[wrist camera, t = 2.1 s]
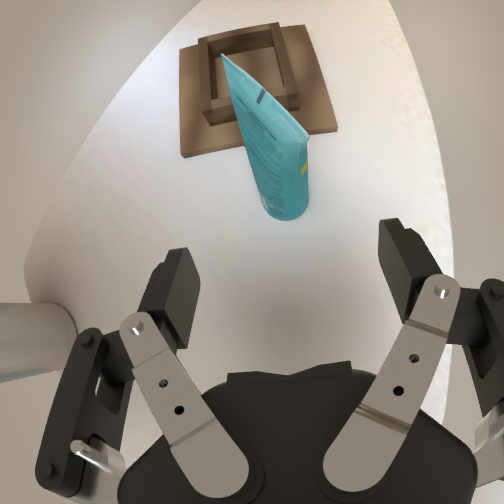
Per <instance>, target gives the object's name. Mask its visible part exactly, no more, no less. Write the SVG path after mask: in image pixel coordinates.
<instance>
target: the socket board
mask: <svg viewBox="0 0 504 504" xmlns="http://www.w3.org/2000/svg"><path fill="white" fill-rule="evenodd" d="M221 54H224V55H225V56H226V57H227V58H228V59H229V60H230V61H232V62H233V63H234V64H236V65H237V66H239V67H240V68H241V69H242V70H244V71H245V72H247V73H248V74H249V75H250V76H251V77H252V78H253V79H255V80H256V81H257V82H258V83H259V84H260V85H261V86H262V87H263V88H264V89H265V90H266V91H267V92H269V93H270V94H271V95H272V96H273V97H274V98H275V99H276V100H277V101H278V102H279V103H280V104H281V105H282V106H283V107H284V108H285V109H286V110H287V111H288V112H289V113H290V114H291V115H292V116H293V117H294V118H295V120H296V121H297V122H298V123H299V124H300V125H301V126H302V128H303V129H304V130H305V131H306V132H307V133H308V134H309V135H313V134H321V133H329V132H337V128H338V126H337V122H336V119H335V115H334V112H333V108H332V105H331V101H330V98H329V95H328V91H327V88H326V85H325V82H324V78H323V75H322V72H321V69H320V66H319V63H318V60H317V57H316V54H315V52H314V49H313V46H312V43H311V40H310V38H309V35H308V32H307V30H306V27H305V24H304V25H295V26H287V27H280V26H279V22H276V23H270V24H263V25H258V26H252V27H247V28H242V29H237V30H232V31H227V32H223V33H219V34H214V35H210V36H206V37H203V38H199V39H198V44H197V45H193V46H190V47H186V48H183V49H180V55H179V108H180V147H181V155H182V156H183V157H184V158H188V157H192V156H196V155H201V154H205V153H210V152H215V151H219V150H224V149H229V148H234V147H239V146H245V145H244V141H243V138H242V135H241V131H240V128H239V124H238V121H237V117H236V114H235V110H234V106H233V103H232V99H231V95H230V91H229V87H228V82H227V78H226V73H225V69H224V64H223V59H222V56H221Z"/></svg>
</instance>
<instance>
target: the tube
mask: <svg viewBox="0 0 504 504" xmlns="http://www.w3.org/2000/svg"><path fill="white" fill-rule="evenodd" d="M221 56H222V59H223V64H224V69H225V73H226V78H227V82H228V87H229V91H230V95H231V99H232V103H233V106H234V110H235V114H236V117H237V121H238V124H239V128H240V131H241V135H242V138H243V141H244V145H245V148H246V151H247V154H248V158H249V161H250V164H251V168H252V171H253V174H254V177H255V181H256V184H257V187H258V190H259V193H260V196H261V199H262V202H263V205H264V208H265V209H266V211H267V212H268V213H269V214H270V215H271V216H272V217H274V218H276V219H278V220H283V221H288V220H293V219H295V218H297V217H299V216H300V215H301V214H302V213H303V212H304V211H305V209H306V208H307V205H308V200H309V194H308V162H307V141H308V139H309V134H308V133H307V132H306V131H305V130H304V129H303V128H302V126H301V125H300V124H299V123H298V122H297V121H296V120H295V118H294V117H293V116H292V115H291V114H290V113H289V112H288V111H287V110H286V109H285V108H284V107H283V106H282V105H281V104H280V103H279V102H278V101H277V100H276V99H275V98H274V97H273V96H272V95H271V94H270V93H269V92H267V91H266V90H265V89H264V88H263V87H262V86H261V85H260V84H259V83H258V82H257V81H256V80H255V79H253V78H252V77H251V76H250V75H249V74H248V73H247V72H245V71H244V70H242V69H241V68H240V67H239V66H237V65H236V64H234V63H233V62H232V61H230V60H229V59H228V58H227V57H226V56H225V55H224V54H221Z"/></svg>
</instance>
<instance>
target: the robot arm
mask: <svg viewBox="0 0 504 504" xmlns="http://www.w3.org/2000/svg"><path fill="white" fill-rule="evenodd" d="M378 257H379V262H380V265H381V268H382V270H383V273H384V275H385V278H386V281H387V283H388V286H389V288H390V291H391V294H392V296H393V299H394V302H395V304H396V307H397V310H398V313H399V315H400V318H401V321H402V324H404V325H403V327H402V329H401V331H400V333H399V335H398V337H397V339H396V341H395V343H394V345H393V347H392V349H391V351H390V353H389V355H388V356H387V358H386V360H385V362H384V364H383V366H382V368H381V369H380V371H379V373H378V375H375V374H372V373H370V372H366V371H362V370H357V369H352V367H351V362H350V361H344V362H337V363H330V364H323V365H318V366H315V367H313V368H310V369H307V370H304V371H301V372H298V373H295V374H292V375H280V374H272V373H265V372H259V371H254V372H238V373H228V375H227V382H224V383H222V384H219V385H217V386H215V387H213V388H211V389H209V390H208V391H206V392H205V393H204V394H201V392H200V391H199V390H198V388H197V387H196V385H195V384H194V382H193V381H192V379H191V378H190V376H189V375H188V373H187V372H186V370H185V369H184V367H183V366H182V364H181V363H180V361H179V360H178V358H177V357H176V353H177V349H187V347H188V342H189V337H190V332H191V328H192V323H193V318H194V314H195V309H196V305H197V300H198V296H199V291H200V277H199V274H198V271H197V269H196V266H195V264H194V261H193V259H192V256H191V254H190V251H189V250H188V248H186V247H185V248H178V249H172V250H169V252H168V254H167V257H166V259H165V262H163V263H160V264H159V265H158V266H157V267H156V268H155V269H154V271H153V272H152V275H151V277H150V280H149V281H150V282H148V285H147V289H146V290H145V292H144V295H143V297H142V300H141V303H140V305H139V308H138V310H137V313H134V314H132V315H130V316H128V317H127V318H126V319H125V320H124V321H123V322H122V324H121V326H120V329H119V330H117V331H114V332H111V333H108V334H105V335H103V334H102V333H101V331H100V330H99V329H97V328H88V329H86V330H84V331H83V332H81V333H80V334H79V335H78V337H77V332H76V328H75V325H74V322H73V320H72V318H71V316H70V315H69V313H68V312H67V311H66V310H65V309H64V308H63V307H62V306H60V305H58V304H54V303H0V383H2V382H7V381H12V380H16V379H20V378H25V377H29V376H34V375H38V374H42V373H46V372H51V371H55V370H59V369H63V368H64V371H63V374H62V377H61V379H60V383H59V385H58V389H57V391H56V395H55V397H54V400H53V404H52V407H51V410H50V413H49V417H48V420H47V424H46V427H45V431H44V434H43V438H42V442H41V446H40V450H39V454H38V458H37V462H36V467H35V475H36V479H37V481H38V483H39V485H40V486H41V487H43V488H44V489H47V490H49V491H51V492H54V493H56V494H58V495H59V496H61V497H63V498H66V499H69V500H71V501H74V502H77V503H79V504H470V503H471V500H472V497H473V494H474V491H475V488H478V487H480V486H483V485H486V484H488V483H491V482H493V481H496V480H498V479H499V480H502V481H504V282H503V281H501V280H498V279H487V280H485V281H484V282H483V283H482V284H481V287H480V289H470V288H462V287H460V286H459V284H458V283H457V281H455V279H453V278H452V277H450V276H447V275H444V274H443V273H442V271H441V269H440V268H439V266H438V264H437V262H436V261H435V259H434V257H433V256H432V254H431V252H429V249H428V247H427V246H426V245H425V242H424V241H423V239H422V238H421V236H420V235H419V234H418V233H417V232H415V231H414V230H412V229H411V228H409V229H405V228H404V227H403V225H402V224H401V222H400V220H399V219H398V218H391V219H384V220H380V222H379V241H378ZM445 344H458V345H462V347H463V350H464V353H465V356H466V359H467V362H468V365H469V368H470V372H471V375H472V378H473V382H474V386H475V389H476V393H477V396H478V400H479V404H480V408H481V412H482V416H483V419H482V420H481V421H480V422H479V424H478V425H477V428H476V431H475V446H474V450H473V452H472V451H471V450H470V448H469V447H468V446H467V445H466V444H465V443H463V442H462V441H461V440H460V439H458V438H457V437H456V436H454V435H453V434H452V433H451V432H449V431H448V430H447V429H446V428H444V427H443V426H442V425H440V424H439V423H438V422H437V421H435V420H434V419H433V418H432V417H430V416H429V415H428V414H427V413H425V412H424V411H423V410H421V409H420V406H421V404H422V402H423V400H424V397H425V395H426V393H427V391H428V388H429V386H430V384H431V381H432V379H433V376H434V374H435V371H436V369H437V366H438V364H439V361H440V358H441V356H442V353H443V350H444V347H445ZM99 377H100V378H101V380H100V384H99V387H98V391H97V395H95V389H96V385H97V382H98V378H99ZM135 379H136V381H137V383H138V385H139V387H140V389H141V391H142V393H143V395H144V398H145V400H146V402H147V404H148V405H149V407H150V409H151V411H152V413H153V415H154V417H155V419H156V421H157V423H158V425H159V426H160V428H161V430H162V432H163V435H162V436H161V437H160V438H159V439H158V440H157V441H156V442H155V443H154V444H153V445H152V446H151V447H150V448H149V449H148V450H147V451H146V452H145V453H144V454H143V455H142V456H141V457H140V458H139V459H138V460H137V461H136V462H134V463H133V464H132V465H131V466H130V467H129V468H128V469H127V468H126V467H125V461H124V458H123V456H122V455H121V453H120V446H121V440H122V435H123V429H124V424H125V419H126V413H127V408H128V404H129V399H130V394H131V389H132V385H133V380H135Z"/></svg>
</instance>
